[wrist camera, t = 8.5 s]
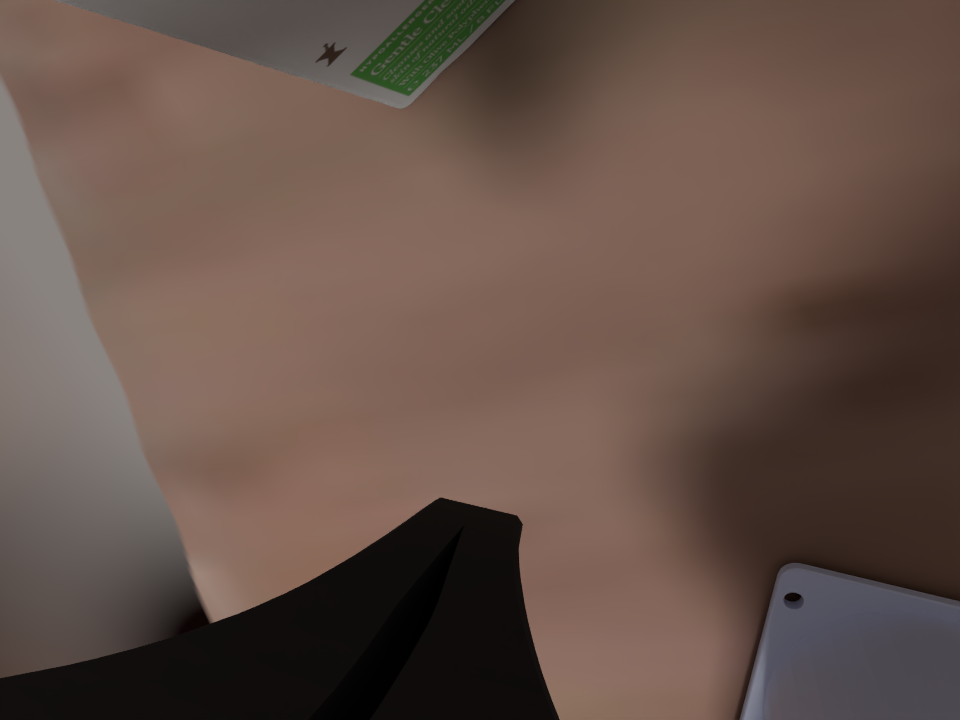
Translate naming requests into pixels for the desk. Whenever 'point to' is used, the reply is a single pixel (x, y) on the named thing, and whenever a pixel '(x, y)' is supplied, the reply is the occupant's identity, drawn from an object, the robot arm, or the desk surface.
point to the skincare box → (324, 36)
